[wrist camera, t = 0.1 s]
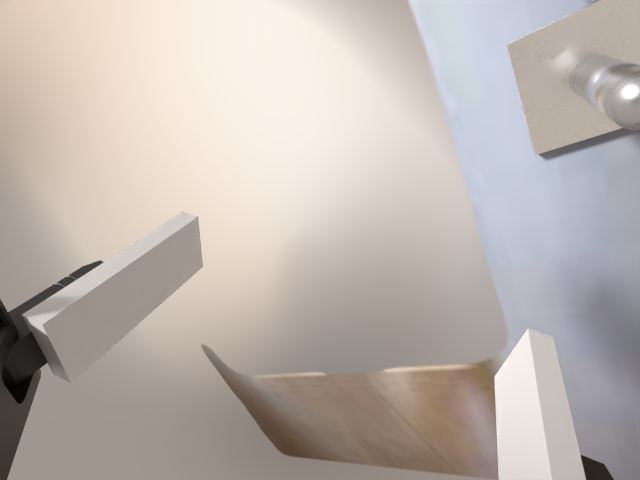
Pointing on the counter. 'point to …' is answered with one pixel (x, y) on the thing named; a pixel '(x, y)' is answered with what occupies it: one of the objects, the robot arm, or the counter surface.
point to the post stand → (580, 74)
